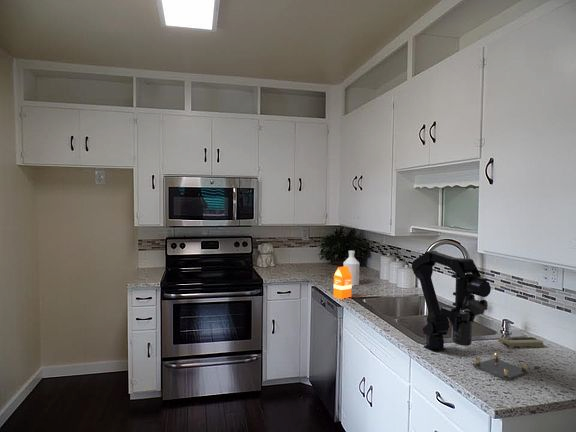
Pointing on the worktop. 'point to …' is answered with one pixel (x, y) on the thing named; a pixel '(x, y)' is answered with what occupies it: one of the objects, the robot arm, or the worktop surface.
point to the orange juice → (342, 283)
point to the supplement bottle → (463, 330)
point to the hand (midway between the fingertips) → (462, 330)
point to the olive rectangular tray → (521, 342)
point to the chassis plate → (501, 368)
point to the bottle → (353, 267)
